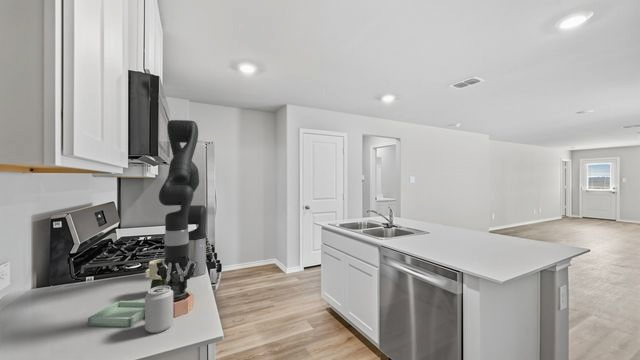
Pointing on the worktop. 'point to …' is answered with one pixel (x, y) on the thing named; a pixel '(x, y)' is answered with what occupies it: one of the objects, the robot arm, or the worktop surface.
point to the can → (158, 309)
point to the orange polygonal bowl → (183, 305)
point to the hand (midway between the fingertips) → (177, 290)
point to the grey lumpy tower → (177, 288)
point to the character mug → (155, 274)
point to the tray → (119, 314)
